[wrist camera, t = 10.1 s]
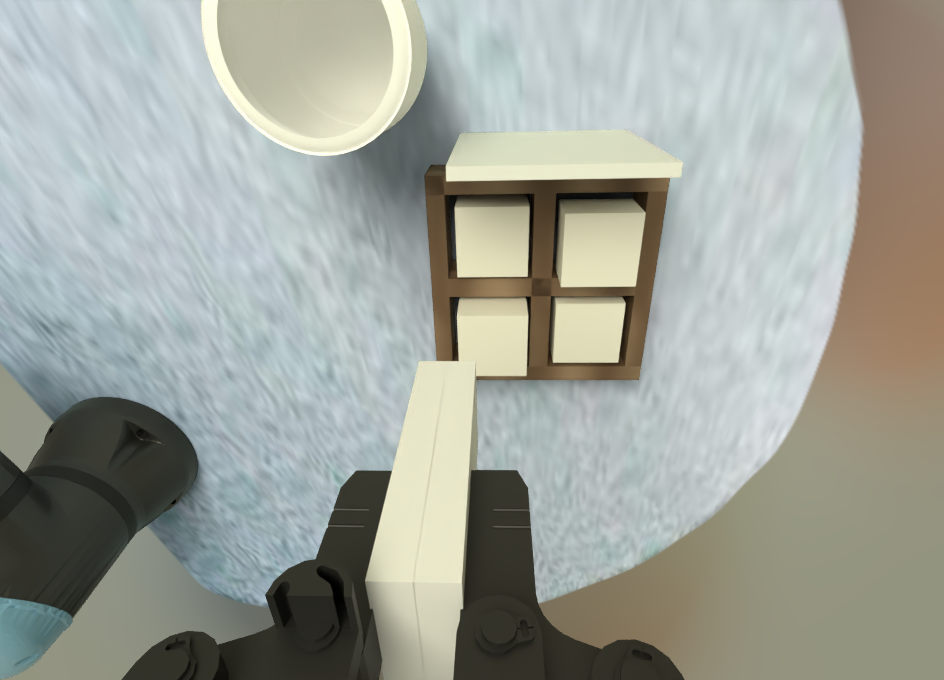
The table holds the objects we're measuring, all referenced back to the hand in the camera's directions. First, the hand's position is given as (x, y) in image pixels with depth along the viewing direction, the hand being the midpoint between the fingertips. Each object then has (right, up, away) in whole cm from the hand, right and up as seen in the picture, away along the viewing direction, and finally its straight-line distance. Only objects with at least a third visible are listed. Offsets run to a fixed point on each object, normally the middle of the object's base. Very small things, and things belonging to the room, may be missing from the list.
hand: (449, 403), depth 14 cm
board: (+6, +8, +32) cm, 34 cm away
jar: (-7, +24, +25) cm, 35 cm away
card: (+6, +18, +27) cm, 33 cm away
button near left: (+2, +11, +30) cm, 32 cm away
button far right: (+11, +4, +33) cm, 35 cm away
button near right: (+10, +10, +27) cm, 31 cm away
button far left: (+2, +3, +31) cm, 32 cm away
